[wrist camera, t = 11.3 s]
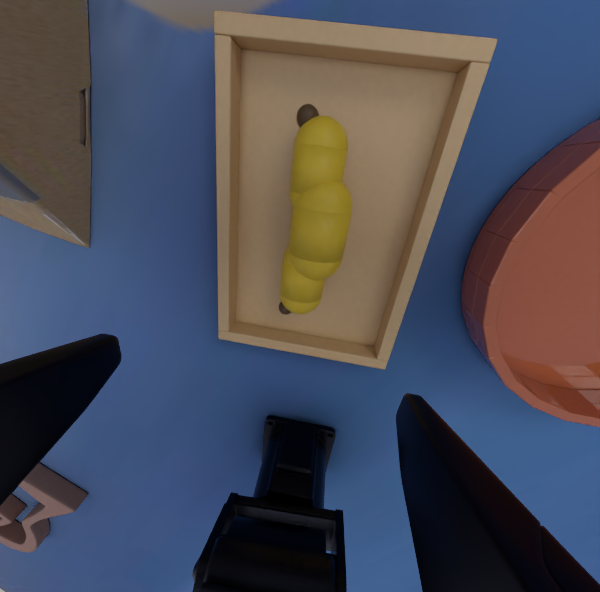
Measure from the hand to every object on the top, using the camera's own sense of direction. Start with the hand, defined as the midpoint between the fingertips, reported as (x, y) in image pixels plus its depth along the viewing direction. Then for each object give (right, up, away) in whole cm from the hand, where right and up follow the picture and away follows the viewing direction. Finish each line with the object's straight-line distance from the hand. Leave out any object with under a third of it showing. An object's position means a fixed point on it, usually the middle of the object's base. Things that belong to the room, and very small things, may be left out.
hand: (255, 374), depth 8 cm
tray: (+3, +7, +9) cm, 11 cm away
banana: (+3, +7, +8) cm, 11 cm away
